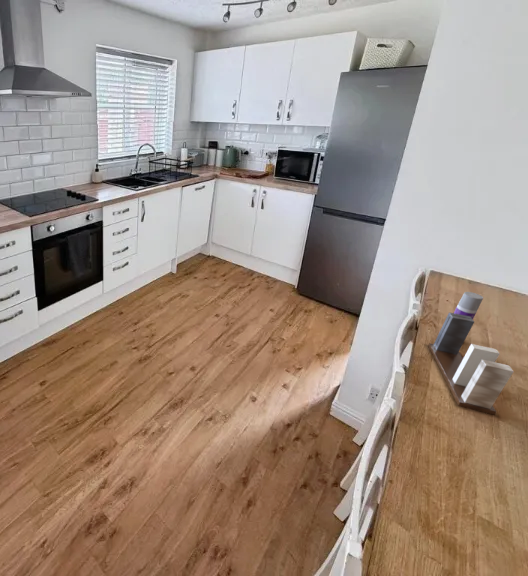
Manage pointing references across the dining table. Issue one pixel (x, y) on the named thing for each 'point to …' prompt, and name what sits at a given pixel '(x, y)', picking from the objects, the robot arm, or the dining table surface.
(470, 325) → the book rack
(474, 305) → the container
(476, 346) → the white book
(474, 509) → the dining table surface
